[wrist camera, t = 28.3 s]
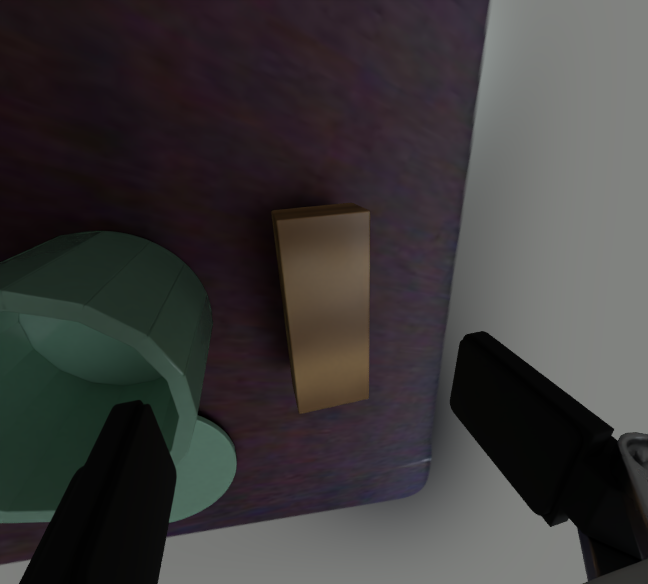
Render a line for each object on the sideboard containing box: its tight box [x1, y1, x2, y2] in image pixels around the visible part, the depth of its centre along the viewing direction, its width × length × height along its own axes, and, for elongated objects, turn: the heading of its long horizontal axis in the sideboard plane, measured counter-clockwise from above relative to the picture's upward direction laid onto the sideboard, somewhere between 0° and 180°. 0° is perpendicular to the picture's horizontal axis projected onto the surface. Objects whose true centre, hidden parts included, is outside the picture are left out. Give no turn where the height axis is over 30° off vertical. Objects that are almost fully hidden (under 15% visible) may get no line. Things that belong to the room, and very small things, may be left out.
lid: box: [169, 415, 237, 523], centre depth 21 cm, size 12×12×6 cm
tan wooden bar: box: [271, 203, 370, 414], centre depth 19 cm, size 12×5×5 cm, turn 3°
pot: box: [0, 231, 213, 523], centre depth 15 cm, size 11×11×8 cm
